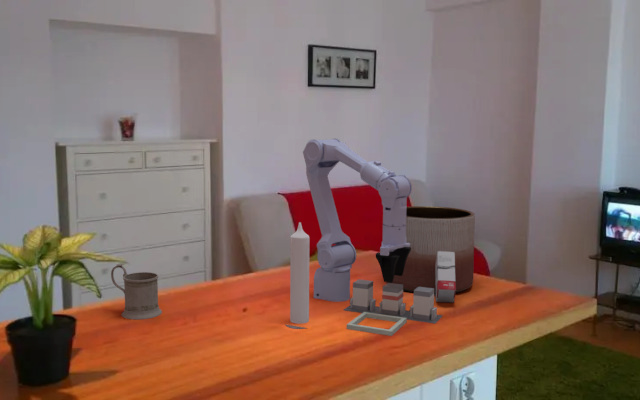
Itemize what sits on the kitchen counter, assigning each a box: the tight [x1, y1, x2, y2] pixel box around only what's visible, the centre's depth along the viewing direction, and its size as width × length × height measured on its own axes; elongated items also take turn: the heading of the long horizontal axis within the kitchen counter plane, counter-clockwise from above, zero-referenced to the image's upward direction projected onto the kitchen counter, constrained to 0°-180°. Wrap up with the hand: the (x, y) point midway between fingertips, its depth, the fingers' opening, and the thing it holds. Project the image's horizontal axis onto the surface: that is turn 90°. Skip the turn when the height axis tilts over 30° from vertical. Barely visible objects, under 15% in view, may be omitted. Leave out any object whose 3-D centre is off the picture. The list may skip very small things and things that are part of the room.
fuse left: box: [352, 278, 374, 312], centre depth 168 cm, size 4×4×7 cm
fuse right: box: [412, 287, 435, 321], centre depth 162 cm, size 4×4×7 cm
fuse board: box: [343, 296, 444, 324], centre depth 165 cm, size 24×7×4 cm, turn 65°
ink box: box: [435, 251, 456, 303], centre depth 176 cm, size 9×5×12 cm
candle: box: [284, 221, 310, 330], centre depth 157 cm, size 7×7×25 cm
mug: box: [110, 263, 163, 320], centre depth 167 cm, size 14×10×12 cm
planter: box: [392, 205, 476, 296], centre depth 195 cm, size 25×25×22 cm
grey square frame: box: [346, 312, 408, 337], centre depth 156 cm, size 11×11×2 cm
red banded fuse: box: [381, 282, 404, 316], centre depth 165 cm, size 4×4×7 cm
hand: (393, 278), depth 164 cm, fingers open, 7 cm apart
